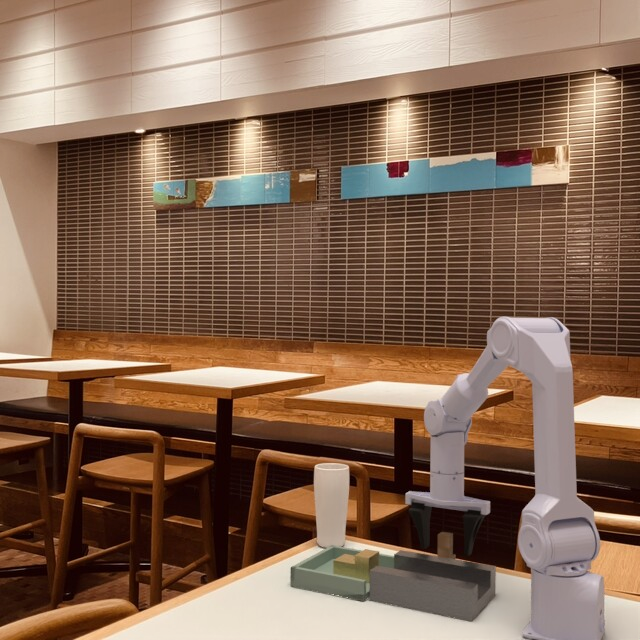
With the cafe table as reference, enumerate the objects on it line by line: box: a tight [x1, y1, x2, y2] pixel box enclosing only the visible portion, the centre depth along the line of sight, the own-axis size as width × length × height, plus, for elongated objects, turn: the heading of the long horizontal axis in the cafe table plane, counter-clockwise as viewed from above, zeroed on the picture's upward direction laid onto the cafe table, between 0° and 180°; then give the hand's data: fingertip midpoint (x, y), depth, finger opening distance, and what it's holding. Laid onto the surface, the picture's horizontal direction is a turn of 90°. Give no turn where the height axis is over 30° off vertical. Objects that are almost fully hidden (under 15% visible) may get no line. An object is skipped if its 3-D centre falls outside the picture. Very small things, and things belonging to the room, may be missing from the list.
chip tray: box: [289, 545, 394, 602], centre depth 121 cm, size 13×14×3 cm
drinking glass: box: [313, 462, 350, 549], centre depth 141 cm, size 7×7×15 cm
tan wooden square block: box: [333, 554, 355, 578], centre depth 122 cm, size 4×4×2 cm
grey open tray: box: [369, 549, 497, 622], centre depth 114 cm, size 16×12×4 cm
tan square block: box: [354, 548, 380, 583], centre depth 120 cm, size 4×4×2 cm
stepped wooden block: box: [437, 531, 457, 560], centre depth 126 cm, size 2×5×6 cm, turn 151°
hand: (446, 551), depth 127 cm, fingers open, 7 cm apart
